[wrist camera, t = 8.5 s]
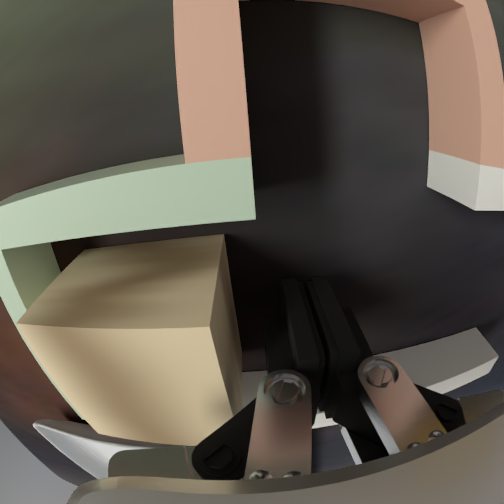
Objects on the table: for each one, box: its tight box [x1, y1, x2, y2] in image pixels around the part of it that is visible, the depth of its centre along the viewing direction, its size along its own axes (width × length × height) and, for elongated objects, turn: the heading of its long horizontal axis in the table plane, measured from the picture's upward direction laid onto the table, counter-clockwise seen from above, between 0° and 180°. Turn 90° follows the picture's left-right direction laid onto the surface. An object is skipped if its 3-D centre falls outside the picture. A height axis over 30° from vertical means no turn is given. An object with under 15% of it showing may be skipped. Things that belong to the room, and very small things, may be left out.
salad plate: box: [33, 419, 190, 479], centre depth 19 cm, size 21×21×3 cm
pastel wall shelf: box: [0, 0, 504, 429], centre depth 8 cm, size 24×19×3 cm
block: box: [16, 234, 242, 446], centre depth 9 cm, size 6×6×5 cm
